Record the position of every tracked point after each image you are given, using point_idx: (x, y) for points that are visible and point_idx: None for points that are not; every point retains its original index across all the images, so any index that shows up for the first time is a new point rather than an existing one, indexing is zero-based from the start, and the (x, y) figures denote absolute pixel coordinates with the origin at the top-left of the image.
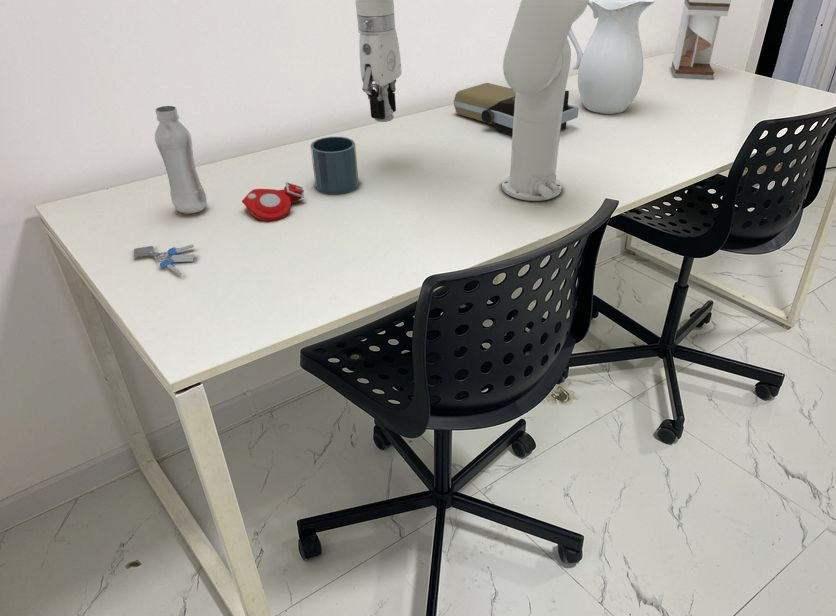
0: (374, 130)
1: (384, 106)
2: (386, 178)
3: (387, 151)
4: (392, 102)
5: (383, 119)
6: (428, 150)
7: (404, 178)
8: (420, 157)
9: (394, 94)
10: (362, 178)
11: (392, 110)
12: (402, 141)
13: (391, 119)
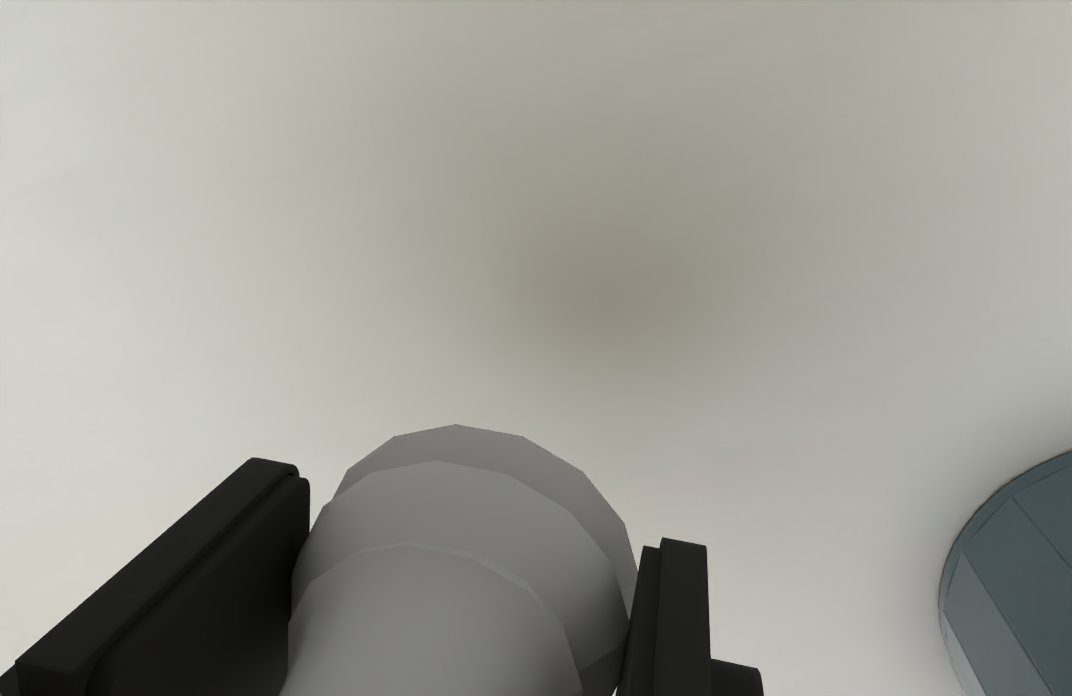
0: (8, 611)
1: (516, 674)
2: (900, 249)
3: (328, 415)
4: (222, 580)
5: (622, 552)
6: (177, 80)
7: (870, 80)
8: (348, 99)
9: (59, 644)
10: (937, 449)
11: (386, 496)
12: (98, 360)
13: (517, 439)
